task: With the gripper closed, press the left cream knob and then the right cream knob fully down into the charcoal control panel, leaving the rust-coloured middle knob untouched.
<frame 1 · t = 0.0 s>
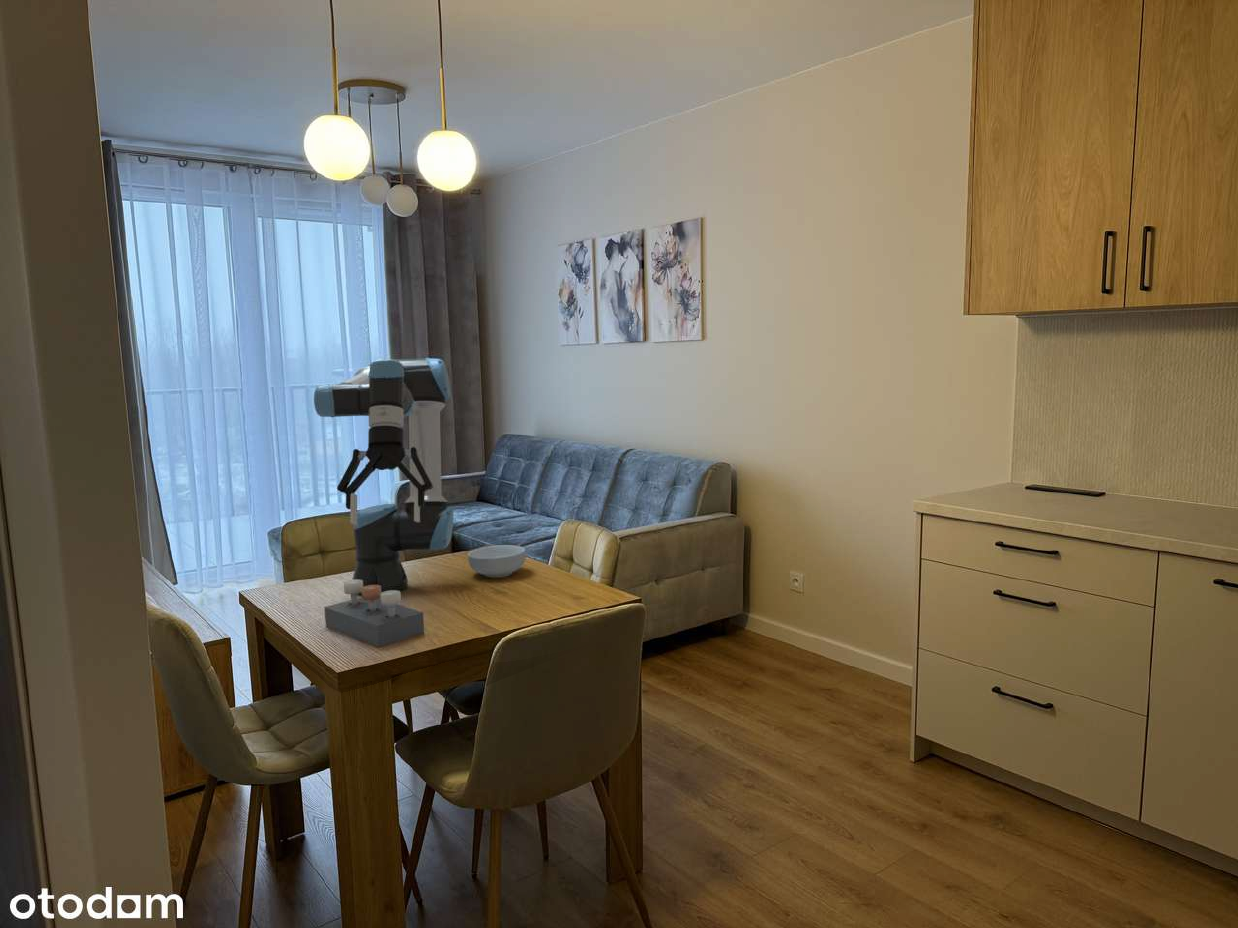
hand: (385, 522, 179), 28 cm above the table, fingers open, 13 cm apart
cream knob 1: (354, 596, 198), point 7 cm above the table, slide at 0.0 cm
knob panel: (374, 630, 194), on the table
cream knob 2: (391, 608, 187), point 7 cm above the table, slide at 0.0 cm
rust knob middle: (372, 602, 193), point 7 cm above the table, slide at 0.0 cm
cereal bowl: (497, 575, 242), on the table
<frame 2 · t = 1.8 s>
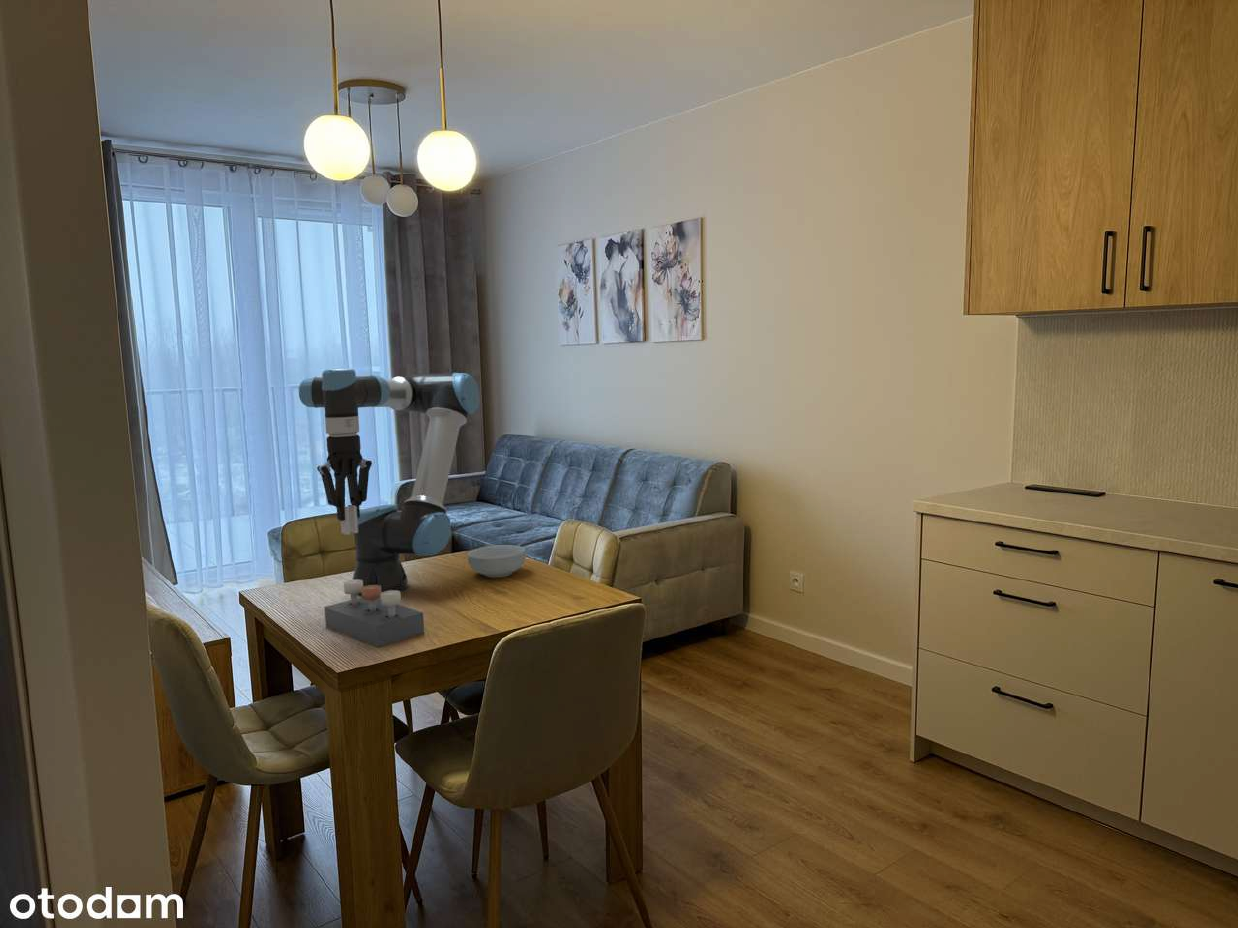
hand: (349, 532, 196), 22 cm above the table, fingers closed
nothing on the table moved.
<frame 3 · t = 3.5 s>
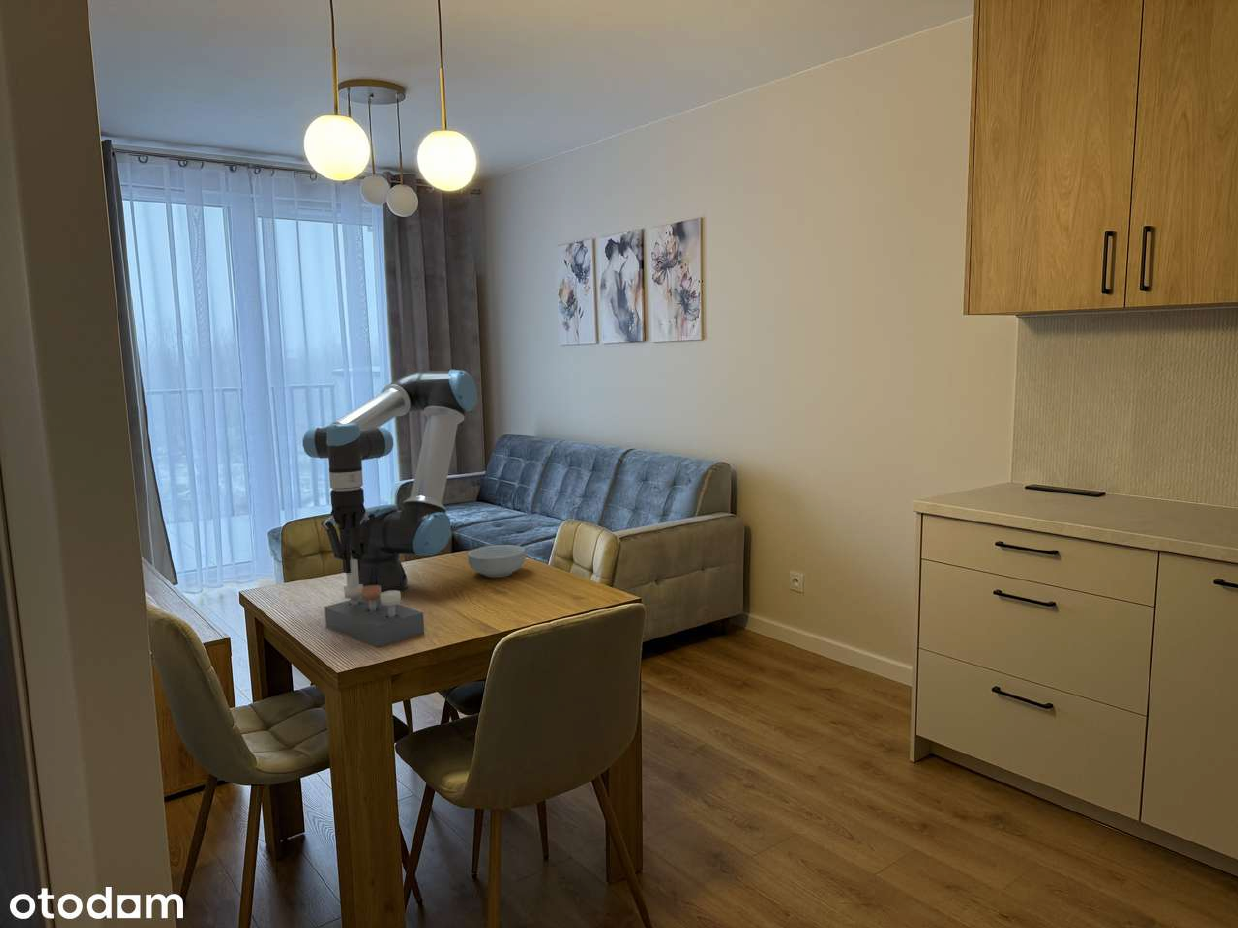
hand: (353, 585, 197), 10 cm above the table, fingers closed
cream knob 1: (354, 601, 198), point 6 cm above the table, slide at 1.1 cm, touching gripper
everything else where it was.
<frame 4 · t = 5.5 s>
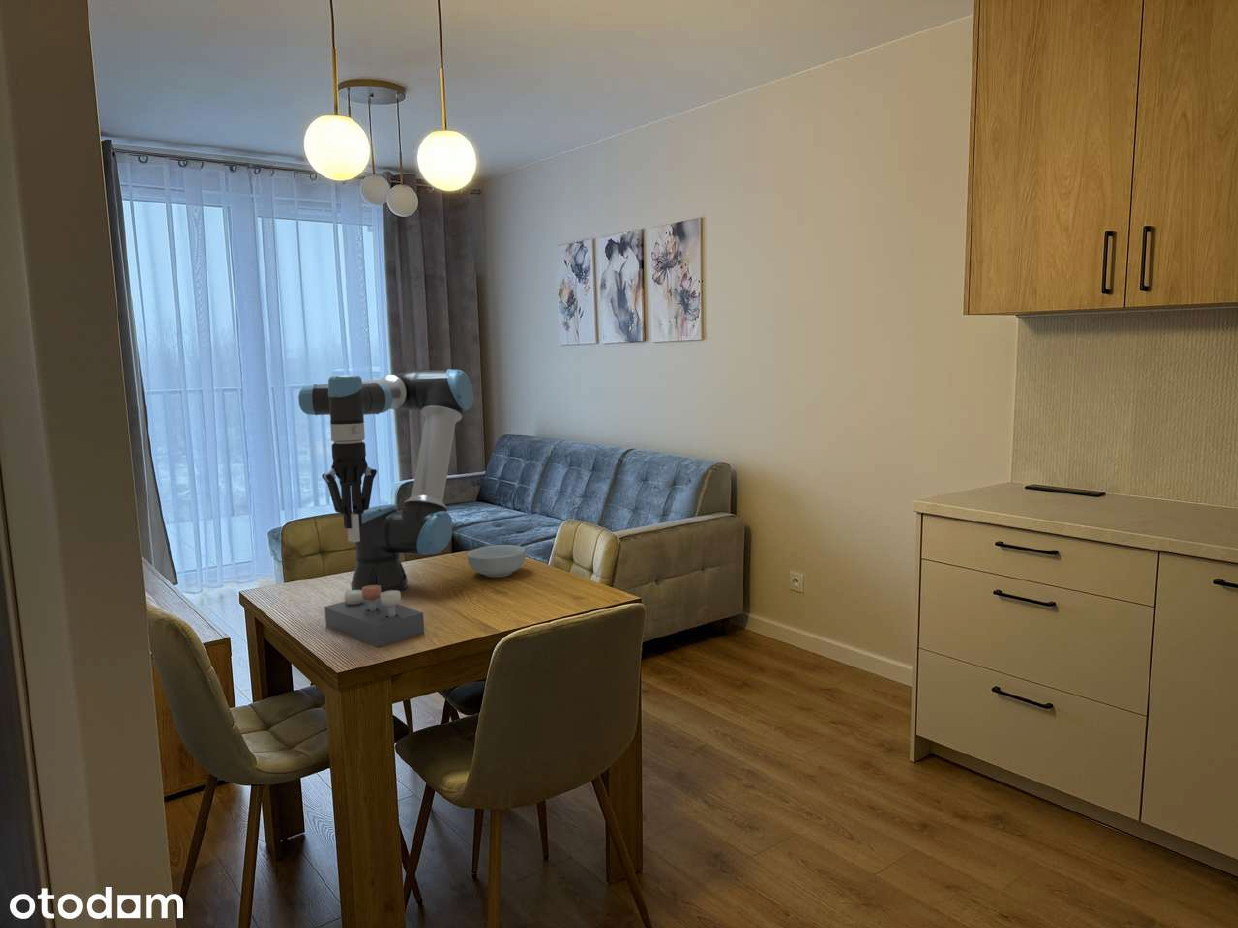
hand: (354, 541, 194), 21 cm above the table, fingers closed
cream knob 1: (355, 607, 198), point 4 cm above the table, slide at 2.6 cm
everything else where it was.
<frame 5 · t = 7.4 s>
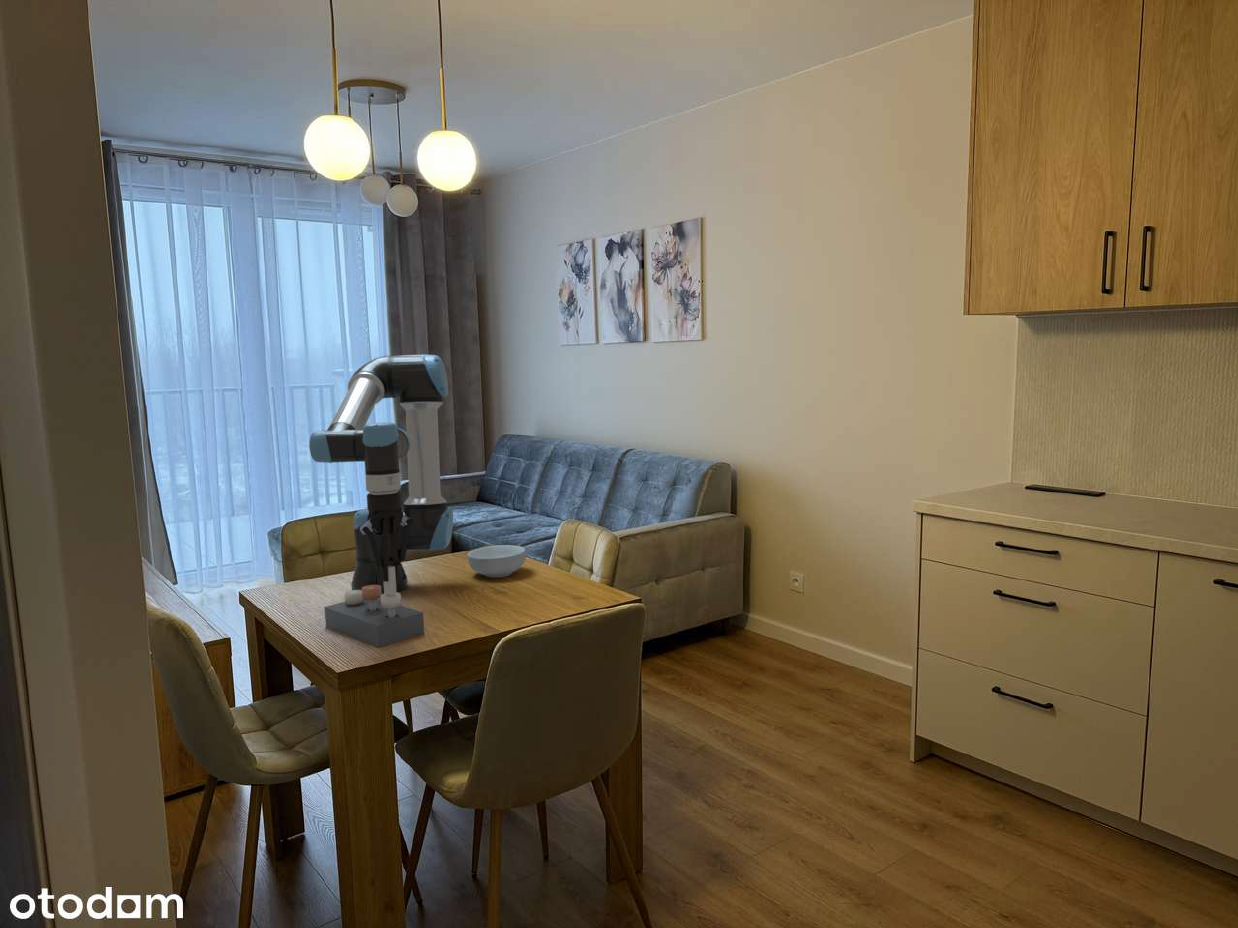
hand: (390, 594, 187), 10 cm above the table, fingers closed
cream knob 2: (391, 610, 187), point 6 cm above the table, slide at 0.5 cm, touching gripper
everything else where it was.
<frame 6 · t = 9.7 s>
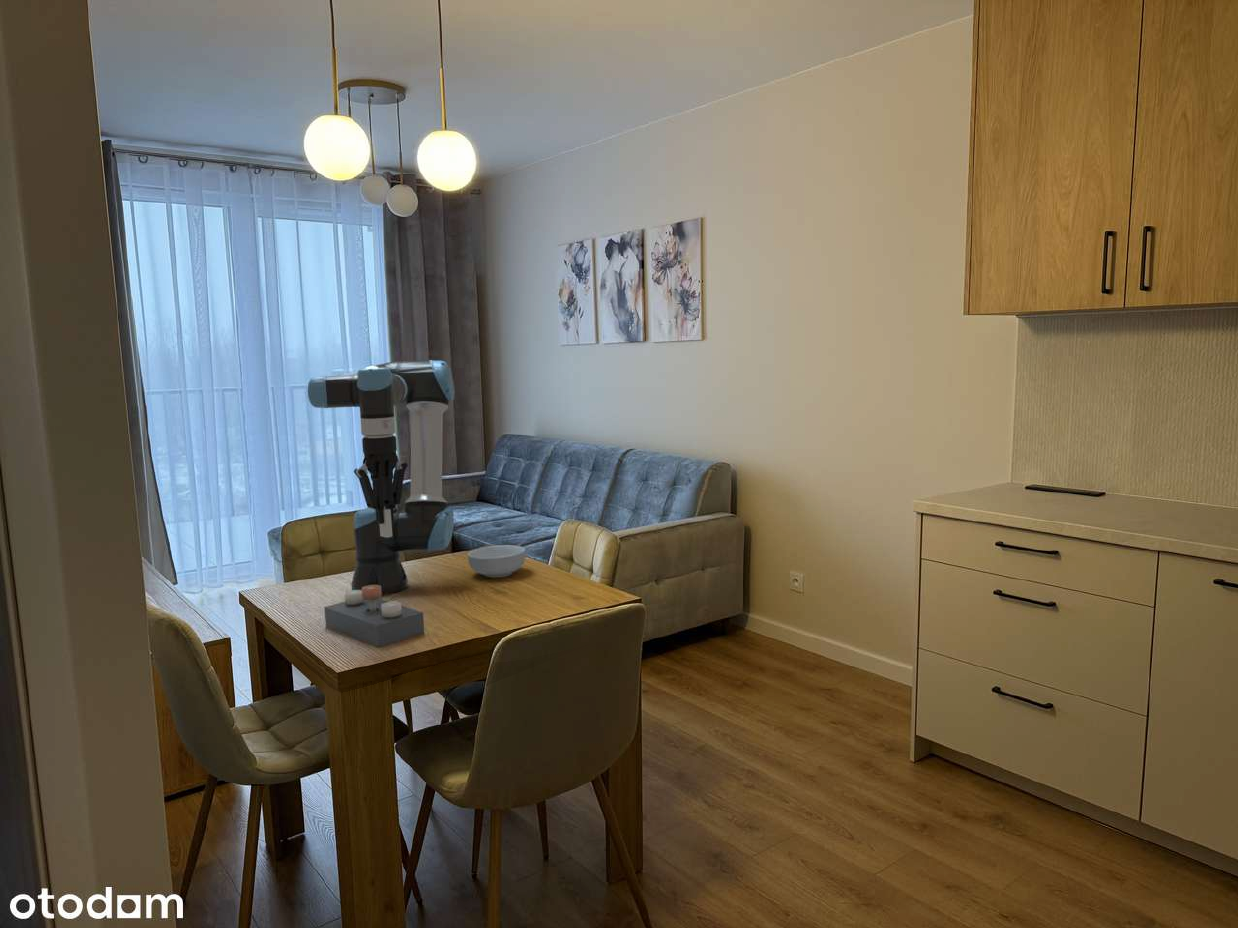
hand: (386, 536, 191), 22 cm above the table, fingers closed
cream knob 2: (392, 619, 188), point 4 cm above the table, slide at 2.6 cm
everything else where it was.
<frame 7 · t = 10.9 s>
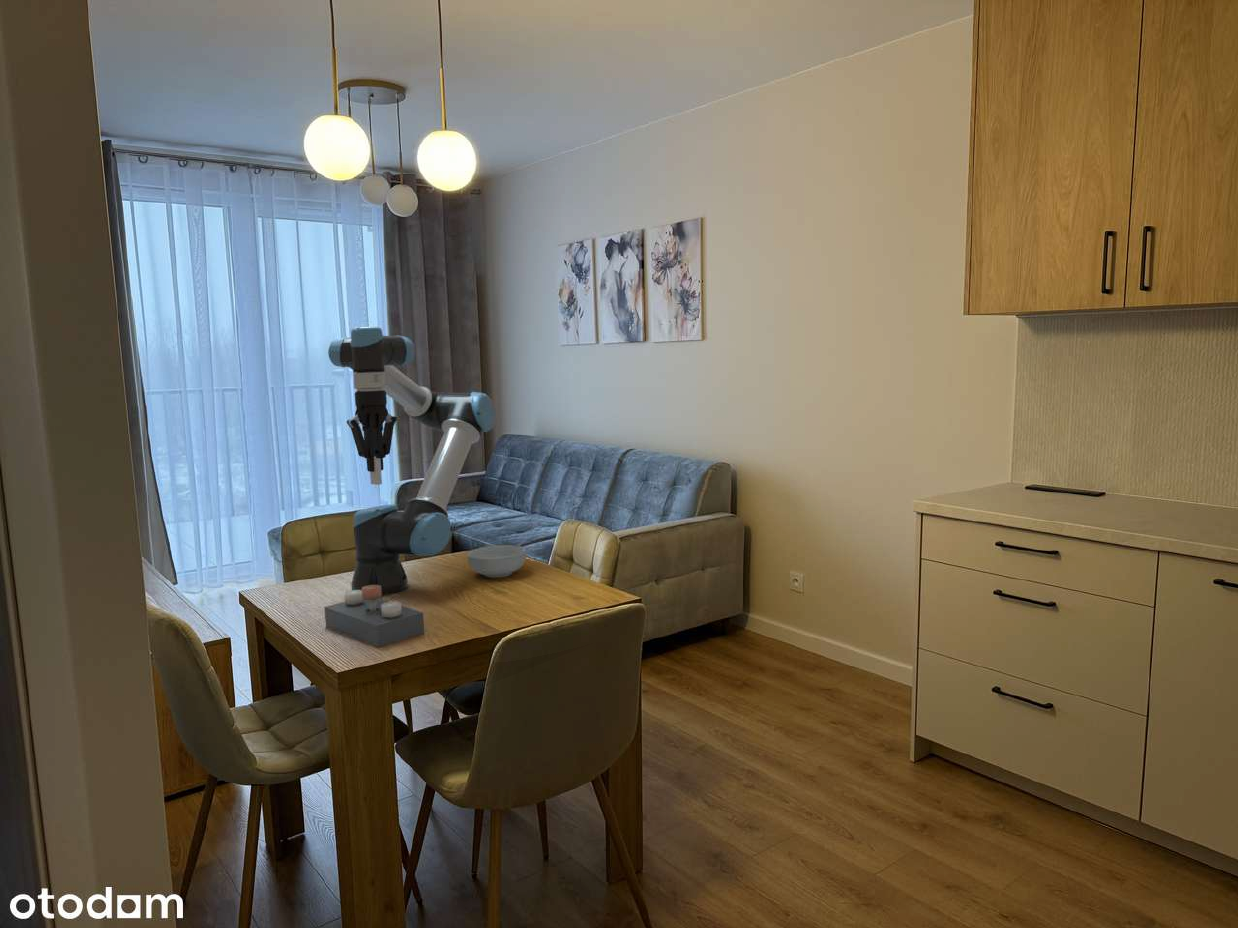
hand: (376, 484, 206), 32 cm above the table, fingers closed
nothing on the table moved.
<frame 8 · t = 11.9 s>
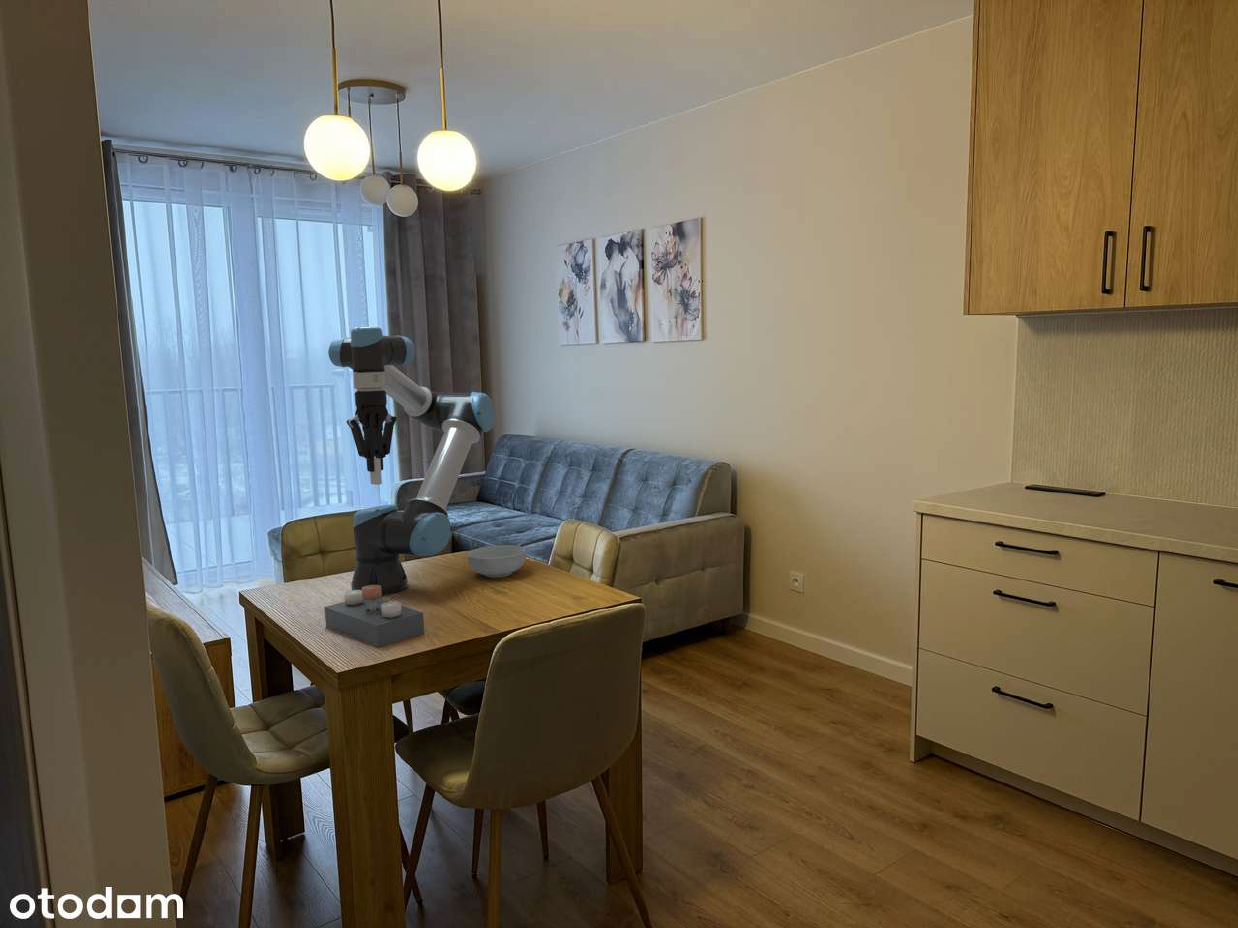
hand: (376, 483, 206), 32 cm above the table, fingers closed
nothing on the table moved.
at the end: cream knob 1 slide at 2.6 cm; cream knob 2 slide at 2.6 cm; rust knob middle slide at 0.0 cm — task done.
